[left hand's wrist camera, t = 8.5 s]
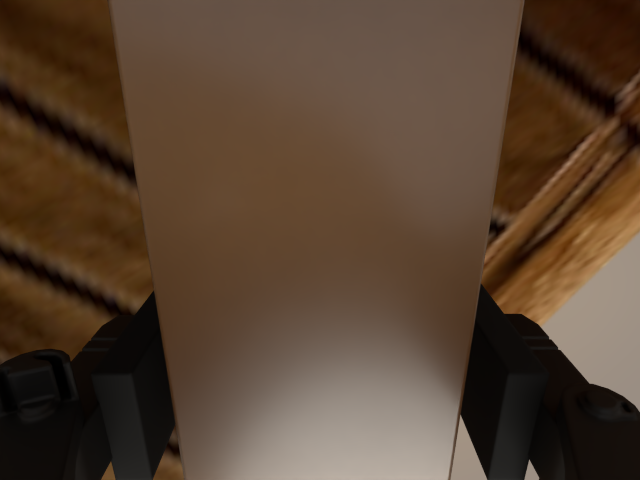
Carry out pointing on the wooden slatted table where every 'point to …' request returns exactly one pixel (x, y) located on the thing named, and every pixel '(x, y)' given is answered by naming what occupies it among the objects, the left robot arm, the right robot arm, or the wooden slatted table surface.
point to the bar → (316, 222)
